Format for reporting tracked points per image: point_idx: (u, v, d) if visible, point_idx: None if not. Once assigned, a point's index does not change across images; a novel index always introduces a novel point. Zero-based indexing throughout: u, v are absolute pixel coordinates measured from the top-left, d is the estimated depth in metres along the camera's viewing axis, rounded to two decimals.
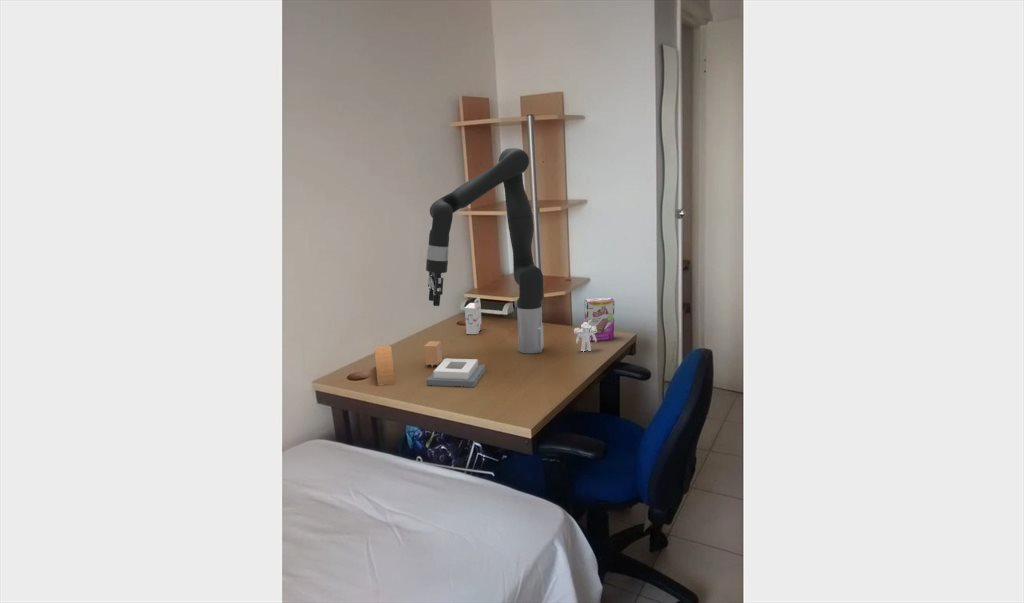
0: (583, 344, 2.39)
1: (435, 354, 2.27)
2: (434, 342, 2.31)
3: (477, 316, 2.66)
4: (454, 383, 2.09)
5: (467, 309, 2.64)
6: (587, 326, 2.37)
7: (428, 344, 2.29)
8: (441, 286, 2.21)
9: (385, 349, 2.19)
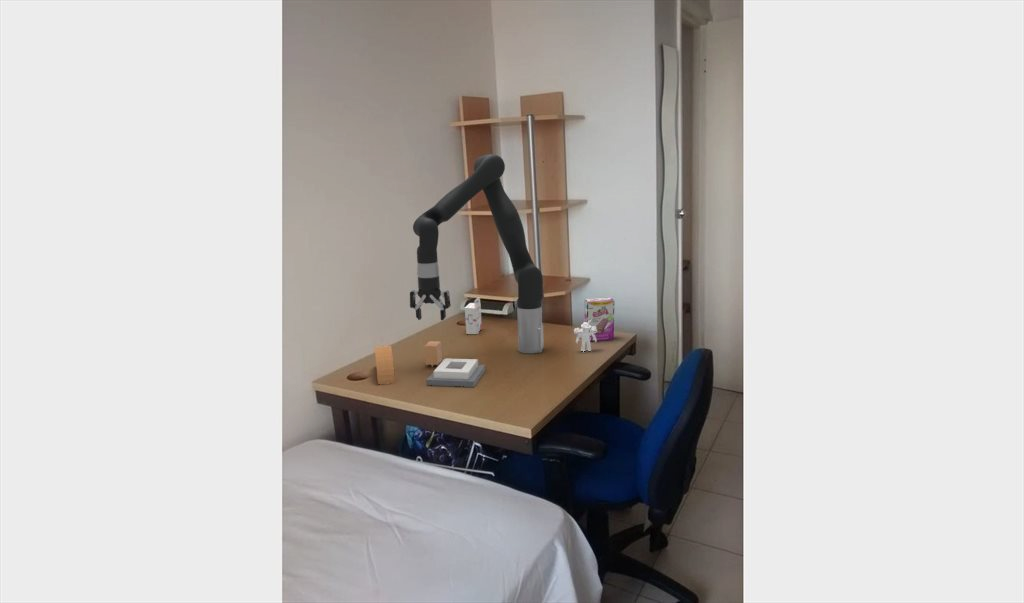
0: (583, 344, 2.39)
1: (435, 354, 2.27)
2: (434, 342, 2.31)
3: (477, 316, 2.66)
4: (454, 383, 2.09)
5: (467, 309, 2.64)
6: (587, 326, 2.37)
7: (428, 344, 2.29)
8: (449, 298, 2.25)
9: (385, 349, 2.19)
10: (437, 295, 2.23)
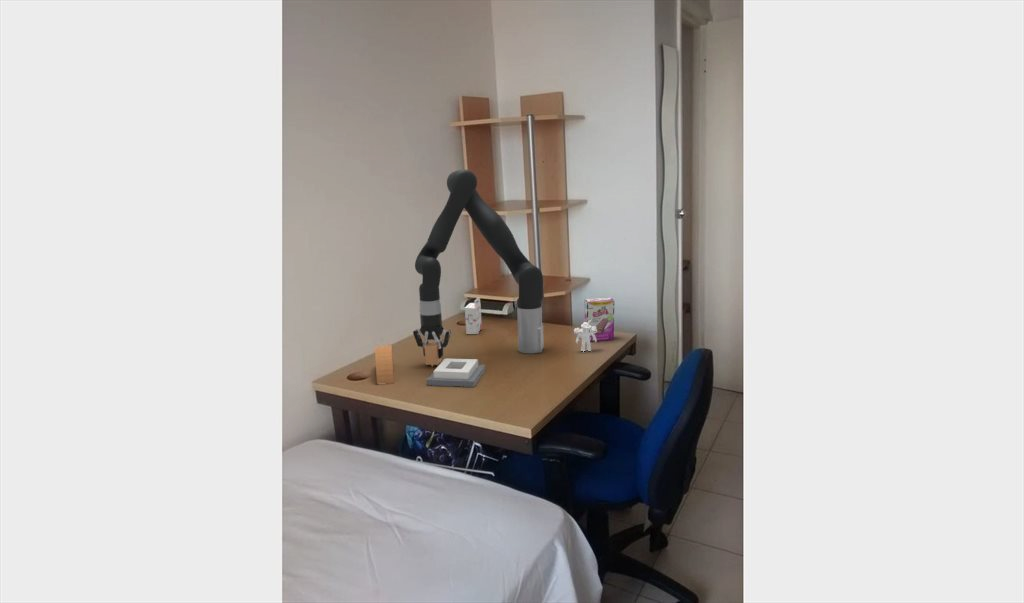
0: (583, 344, 2.39)
1: (435, 354, 2.27)
2: (434, 342, 2.31)
3: (477, 316, 2.66)
4: (454, 383, 2.09)
5: (467, 309, 2.64)
6: (587, 326, 2.37)
7: (428, 344, 2.29)
8: None
9: (385, 348, 2.20)
10: (439, 332, 2.27)
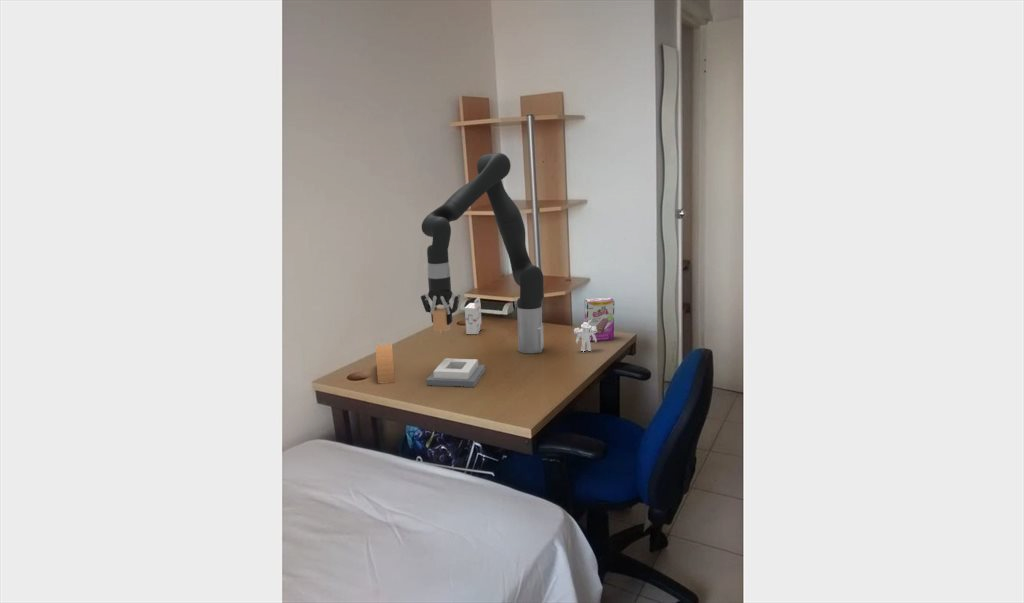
0: (583, 344, 2.39)
1: (443, 320, 2.17)
2: (443, 307, 2.21)
3: (477, 316, 2.66)
4: (454, 383, 2.09)
5: (467, 309, 2.64)
6: (587, 326, 2.37)
7: (436, 309, 2.18)
8: (458, 303, 2.18)
9: (386, 348, 2.21)
10: (447, 296, 2.16)
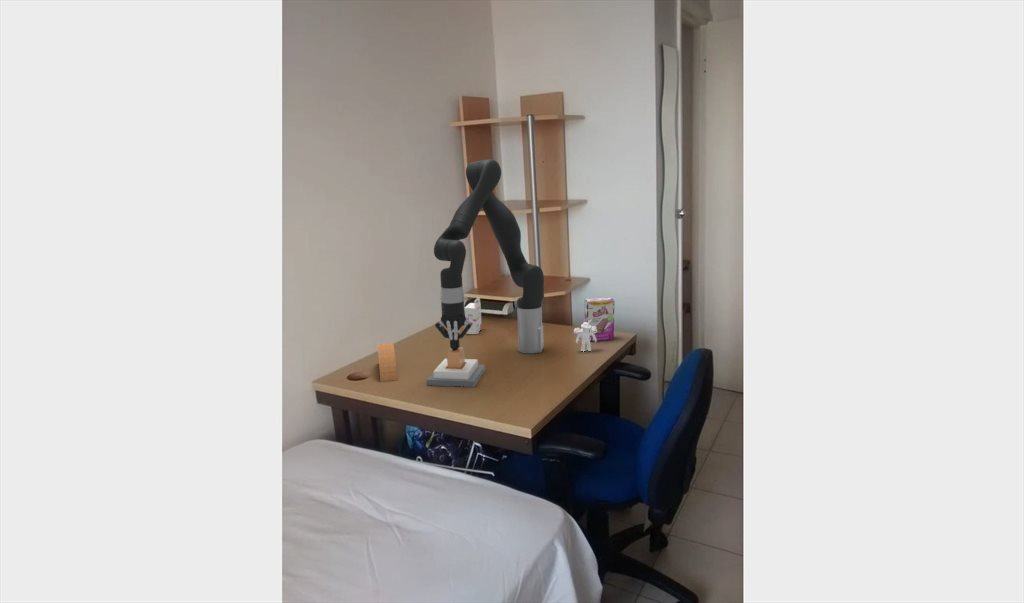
0: (583, 344, 2.39)
1: (458, 361, 2.13)
2: None
3: (477, 316, 2.66)
4: (454, 383, 2.09)
5: (467, 309, 2.64)
6: (587, 326, 2.37)
7: (450, 350, 2.14)
8: None
9: (388, 346, 2.23)
10: (460, 321, 2.11)
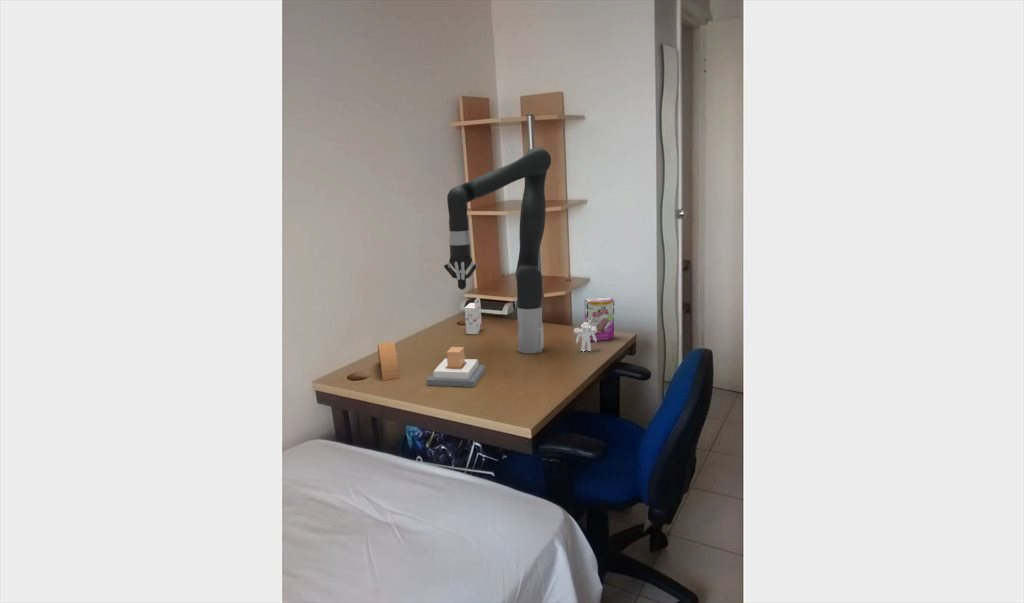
0: (583, 344, 2.39)
1: (458, 361, 2.13)
2: (457, 347, 2.17)
3: (477, 316, 2.66)
4: (454, 383, 2.09)
5: (467, 309, 2.64)
6: (587, 326, 2.37)
7: (450, 350, 2.14)
8: (473, 271, 2.35)
9: (389, 345, 2.24)
10: (467, 262, 2.33)
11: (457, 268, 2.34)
